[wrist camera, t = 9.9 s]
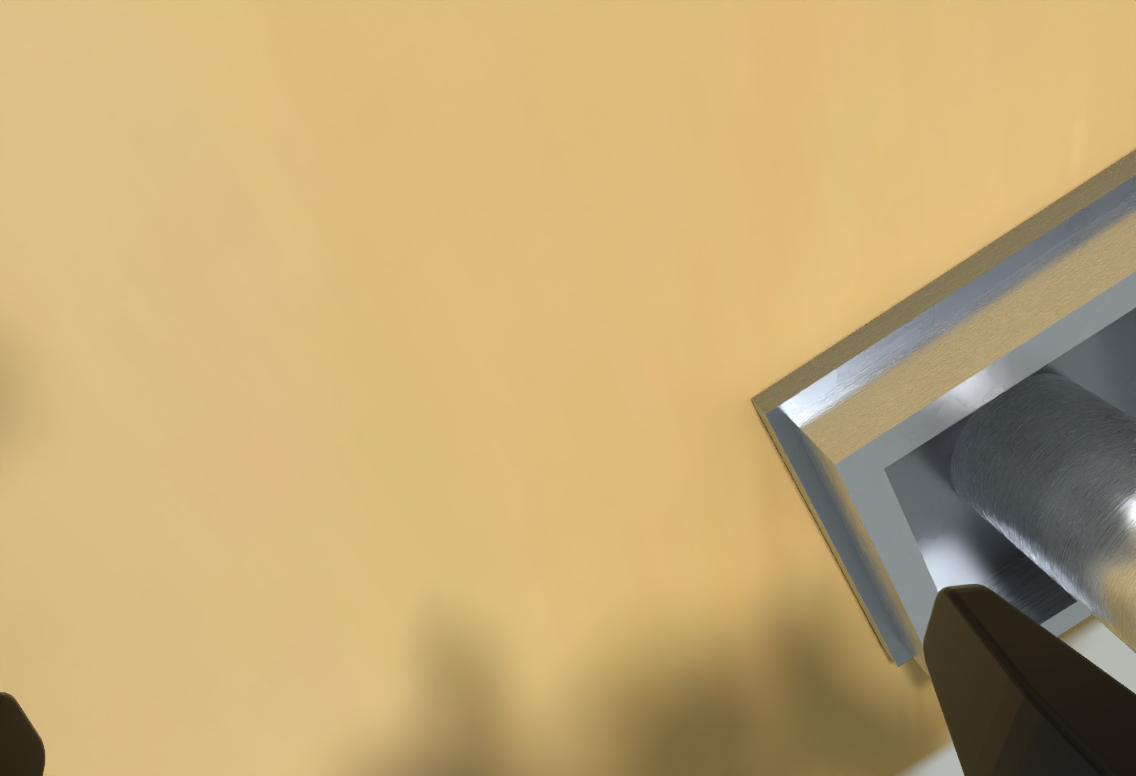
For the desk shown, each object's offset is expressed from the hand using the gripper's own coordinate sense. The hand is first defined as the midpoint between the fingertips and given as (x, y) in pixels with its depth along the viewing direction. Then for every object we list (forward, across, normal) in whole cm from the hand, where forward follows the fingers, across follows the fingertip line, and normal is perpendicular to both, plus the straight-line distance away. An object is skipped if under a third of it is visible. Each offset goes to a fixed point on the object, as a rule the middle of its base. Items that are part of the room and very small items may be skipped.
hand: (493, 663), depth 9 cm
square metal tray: (+13, -14, +9) cm, 22 cm away
